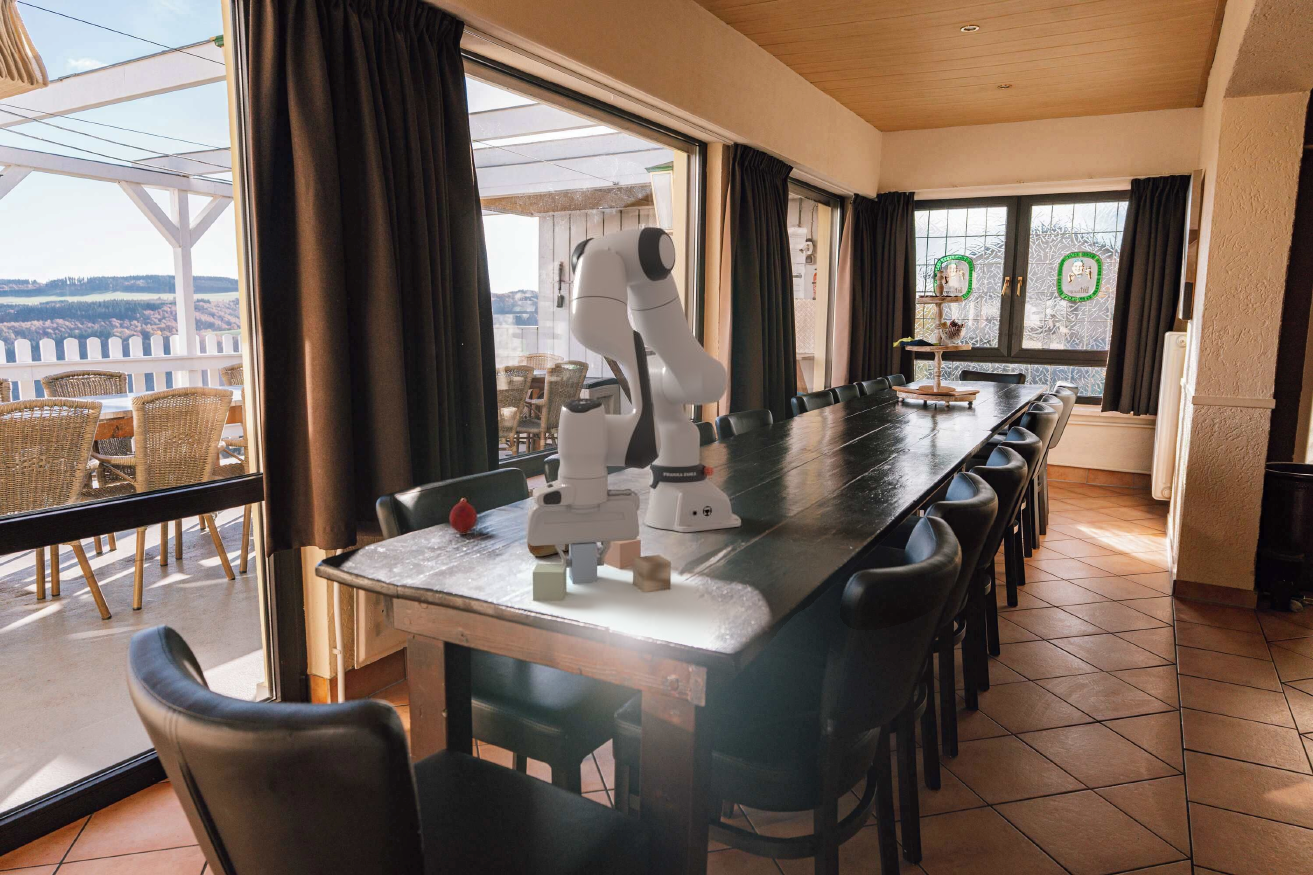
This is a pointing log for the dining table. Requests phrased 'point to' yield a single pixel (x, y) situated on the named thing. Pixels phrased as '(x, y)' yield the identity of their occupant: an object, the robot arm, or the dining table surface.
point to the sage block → (549, 582)
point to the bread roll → (544, 549)
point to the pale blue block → (583, 562)
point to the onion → (463, 517)
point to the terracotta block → (623, 553)
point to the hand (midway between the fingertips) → (583, 566)
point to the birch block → (651, 573)
